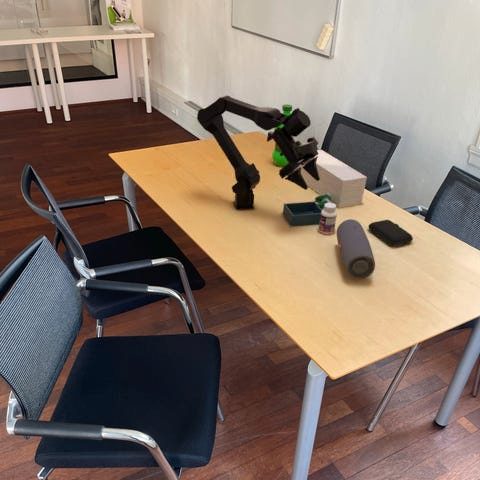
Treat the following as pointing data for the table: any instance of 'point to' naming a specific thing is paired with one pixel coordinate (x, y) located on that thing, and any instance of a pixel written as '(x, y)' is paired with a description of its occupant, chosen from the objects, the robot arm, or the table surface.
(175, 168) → the table surface
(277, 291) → the table surface
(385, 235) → the carrying case
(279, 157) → the plastic bottle
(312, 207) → the tray
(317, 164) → the long white box
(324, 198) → the gaming controller
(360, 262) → the bluetooth speaker
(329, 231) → the pill bottle
